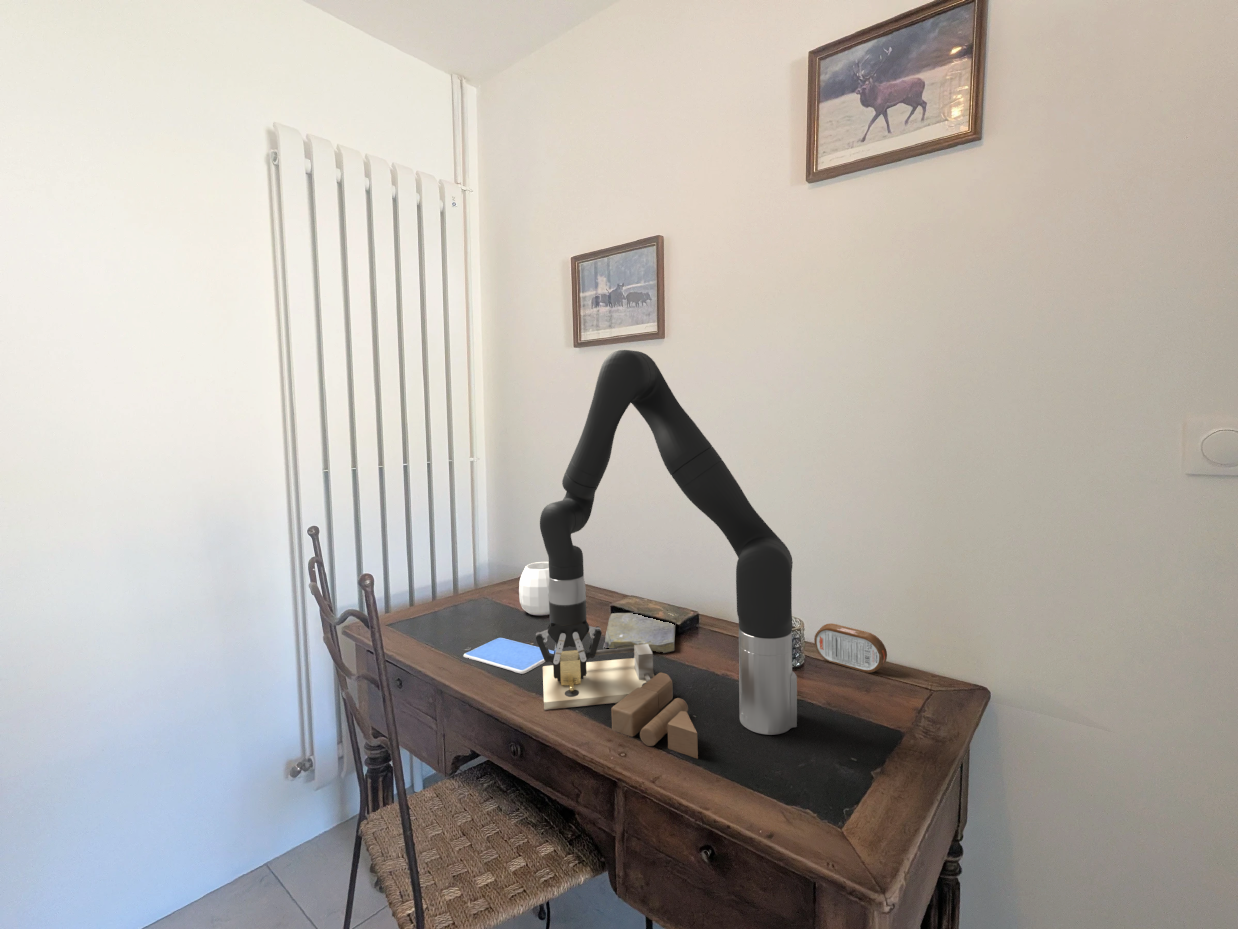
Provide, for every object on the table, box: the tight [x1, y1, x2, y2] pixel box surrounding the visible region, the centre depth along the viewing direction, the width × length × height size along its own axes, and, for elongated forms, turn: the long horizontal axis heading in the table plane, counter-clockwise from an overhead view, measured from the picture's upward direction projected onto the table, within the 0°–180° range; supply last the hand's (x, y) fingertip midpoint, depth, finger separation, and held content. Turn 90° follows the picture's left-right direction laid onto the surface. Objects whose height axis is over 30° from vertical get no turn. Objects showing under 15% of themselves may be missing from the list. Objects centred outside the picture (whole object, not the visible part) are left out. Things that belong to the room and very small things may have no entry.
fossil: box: [603, 612, 676, 654], centre depth 143 cm, size 20×5×17 cm
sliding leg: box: [560, 649, 581, 692], centre depth 116 cm, size 4×8×5 cm, turn 8°
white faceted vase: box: [518, 561, 549, 616], centre depth 164 cm, size 13×13×14 cm
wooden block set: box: [610, 672, 699, 760], centre depth 103 cm, size 17×6×18 cm
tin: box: [814, 623, 888, 674], centre depth 124 cm, size 15×3×8 cm, turn 47°
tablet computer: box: [463, 637, 554, 675], centre depth 135 cm, size 19×13×1 cm, turn 57°
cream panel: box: [542, 644, 656, 711], centre depth 118 cm, size 23×16×7 cm
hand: (570, 678), depth 118 cm, fingers closed on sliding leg, 4 cm apart
